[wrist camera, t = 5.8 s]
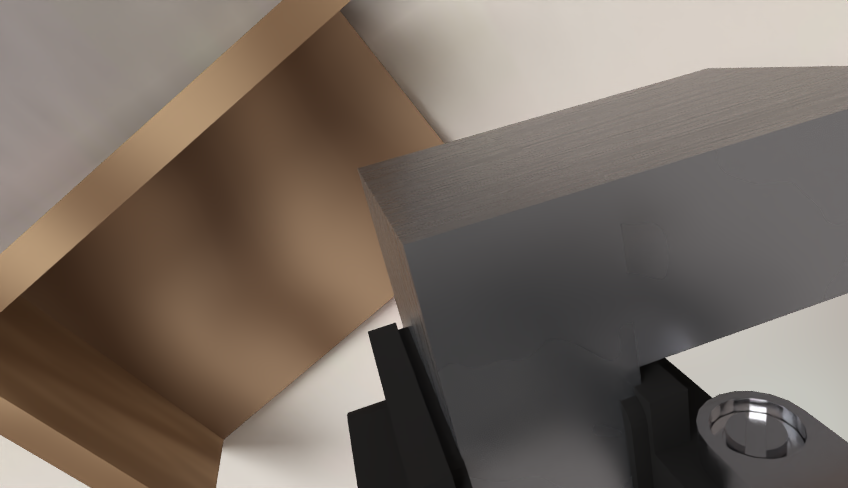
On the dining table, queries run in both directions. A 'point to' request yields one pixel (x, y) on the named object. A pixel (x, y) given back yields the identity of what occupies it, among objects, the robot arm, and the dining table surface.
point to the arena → (204, 258)
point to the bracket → (609, 254)
